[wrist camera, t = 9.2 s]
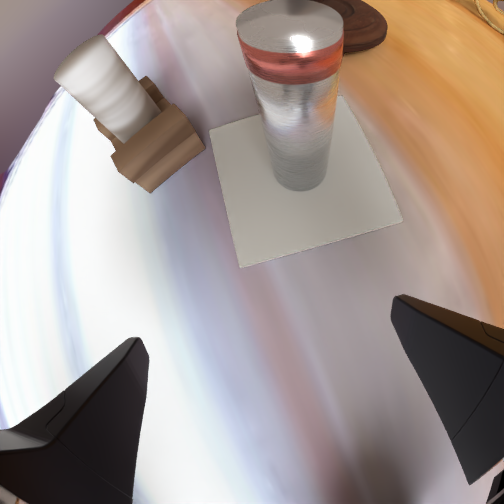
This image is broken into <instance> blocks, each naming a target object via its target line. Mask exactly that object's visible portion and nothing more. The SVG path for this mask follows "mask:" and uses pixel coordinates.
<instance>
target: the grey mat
mask: <svg viewBox="0 0 504 504" xmlns="http://www.w3.org/2000/svg"><path fill="white" fill-rule="evenodd" d="M209 134H210V139H211V144H212V148H213V153H214V158H215V162H216V167H217V171H218V176H219V180H220V185H221V189H222V194H223V198H224V203H225V207H226V212H227V216H228V220H229V225H230V229H231V234H232V238H233V242H234V247H235V251H236V255H237V259H238V264H239V268H244V267H248V266H251V265H255V264H258V263H262V262H266V261H269V260H273V259H276V258H280V257H284V256H287V255H291V254H294V253H298V252H301V251H305V250H308V249H312V248H316V247H319V246H323V245H326V244H330V243H333V242H337V241H340V240H343V239H347V238H350V237H354V236H357V235H361V234H364V233H368V232H371V231H374V230H378V229H381V228H385V227H388V226H391V225H395V224H398V223H401V222H403V219H402V216H401V213H400V211H399V208H398V206H397V203H396V201H395V198H394V196H393V193H392V191H391V189H390V186H389V184H388V182H387V179H386V177H385V175H384V173H383V170H382V168H381V166H380V164H379V162H378V160H377V158H376V156H375V154H374V152H373V150H372V148H371V146H370V144H369V142H368V140H367V138H366V136H365V134H364V132H363V130H362V129H361V127H360V125H359V123H358V121H357V120H356V118H355V116H354V114H353V113H352V111H351V109H350V107H349V106H348V104H347V102H346V101H345V99H344V97H343V96H337V101H336V110H335V118H334V126H333V133H332V140H331V147H330V154H329V160H328V167H327V173H326V176H325V178H324V180H323V181H322V183H321V184H320V185H318V186H317V187H315V188H314V189H311V190H308V191H293V190H289V189H287V188H285V187H283V186H282V185H281V184H280V183H279V182H278V181H277V180H276V178H275V176H274V174H273V169H272V165H271V160H270V156H269V152H268V147H267V143H266V139H265V134H264V130H263V126H262V122H261V117H260V114H258V115H255V116H251V117H248V118H245V119H241V120H238V121H235V122H232V123H229V124H226V125H223V126H220V127H217V128H214V129H211V130H209Z"/></svg>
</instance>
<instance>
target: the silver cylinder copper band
mask: <svg viewBox="0 0 504 504" xmlns="http://www.w3.org/2000/svg"><path fill="white" fill-rule="evenodd" d="M236 27H237V35H238V38H239V42H240V45H241V49H242V53H243V56H244V60H245V63H246V66H247V68H248V70H249V74H250V78H251V82H252V85H253V89H254V93H255V97H256V101H257V105H258V109H259V113H260V117H261V122H262V126H263V130H264V134H265V139H266V143H267V147H268V152H269V156H270V160H271V165H272V169H273V174H274V176H275V178H276V180H277V181H278V182H279V183H280V184H281V185H282V186H283V187H285V188H287V189H289V190H293V191H308V190H311V189H314V188H315V187H317V186H318V185H320V184H321V183H322V181H323V180H324V178H325V176H326V173H327V167H328V160H329V154H330V147H331V140H332V133H333V126H334V118H335V110H336V101H337V92H338V83H339V73H340V66H341V63H342V52H343V39H344V29H343V19H342V17H341V15H340V14H339V13H338V12H337V11H335V10H334V9H332V8H331V7H329V6H327V5H324V4H322V3H318V2H315V1H310V0H271V1H266V2H262V3H259V4H256V5H254V6H252V7H250V8H248V9H246V10H245V11H243V12H242V13H241V14H240V15H239V16H238V18H237V20H236Z"/></svg>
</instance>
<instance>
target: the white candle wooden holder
mask: <svg viewBox="0 0 504 504" xmlns="http://www.w3.org/2000/svg"><path fill="white" fill-rule="evenodd" d="M54 80H55V81H57V82H58V83H59V84H60V85H61V86H62V87H63V88H64V89H65V90H66V91H67V92H68V93H69V94H70V95H71V96H73V97H74V98H75V99H76V100H77V101H78V102H79V103H80V104H81V105H82V106H83V107H84V108H85V109H87V110H88V111H89V112H90V113H91V114H92V115H93V116H94V117H95V119H94V122H95V124H96V126H97V128H98V130H99V131H100V132H101V133H102V134H103V135H104V136H106V137H107V138H108V139H109V140H110V141H111V142H112V144H113V146H114V148H115V150H116V151H115V152H114V153H113V154H112V155H111V158H112V160H113V162H114V164H115V166H116V168H117V170H118V172H119V173H121V174H122V175H123V176H125V177H126V178H127V179H129V180H130V181H131V182H133V183H134V182H136V183H137V184H138V185H140V186H141V187H142V188H144V189H145V190H146V191H148V192H149V193H151V192H153V191H154V190H155V189H156V188H157V187H158V186H159V185H161V184H162V183H163V182H164V181H165V180H167V179H168V178H169V177H170V176H171V175H173V174H174V173H175V172H176V171H177V170H179V169H180V168H181V167H182V166H184V165H185V164H186V163H187V162H189V161H190V160H191V159H192V158H194V157H195V156H196V155H198V154H199V153H200V152H202V151H203V150H204V149H206V148H205V146H204V145H203V143H202V142H201V140H200V139H199V137H198V135H197V134H196V131H195V129H194V128H193V126H192V125H191V123H190V121H189V120H188V118H187V117H186V115H185V114H184V113H183V112H182V111H181V110H180V109H179V108H178V107H177V106H176V105H175V104H172V105H171V104H170V103H169V102H168V101H167V100H166V99H165V98H164V97H163V95H162V94H161V93H160V91H159V90H158V88H157V87H156V85H155V84H154V83H153V82H152V81H151V80H150V79H149V78H148V77H147V76H145V77H143V78H142V79H141V80H140V81H138V80H137V79H136V77H135V76H134V75H133V73H132V72H131V71H130V69H129V68H128V67H127V66H126V64H125V63H124V62H123V60H122V59H121V58H120V56H119V55H118V54H117V52H116V51H115V50H114V49H113V47H112V46H111V45H110V43H109V42H108V41H107V39H106V38H105V37H104V36H103V35H97V36H94V37H92V38H90V39H88V40H87V41H85V42H83V43H82V44H81V45H79V46H78V47H77V48H76V49H74V50H73V51H72V52H71V53H70V54H69V55H68V56H67V57H66V58H65V59H64V61H63V62H62V63H61V64H60V66H59V67H58V69H57V70H56V72H55V75H54Z"/></svg>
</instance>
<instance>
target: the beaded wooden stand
mask: <svg viewBox="0 0 504 504" xmlns="http://www.w3.org/2000/svg"><path fill="white" fill-rule="evenodd" d="M270 1H271V0H270ZM310 1H315V2H318V3H322V4H324V5H327V6H329V7H331V8H332V9H334V10H335V11H337V12H338V13H339V14H340V15H341V17H342V19H343V29H344V39H343V52H342V57H343V56H344V53H345V52H355V51H362V50H366V49H370V48H373V47H375V46H377V45H379V44H380V43H382V42H383V41H384V39H385V37H386V34H387V22H386V20H385V18H384V17H383V16H382V15H381V14H380V13H379V12H378V11H377V10H376V9H374V8H373V7H371V6H370V5H368V4H367V3H365V2H363V1H361V0H310Z"/></svg>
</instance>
